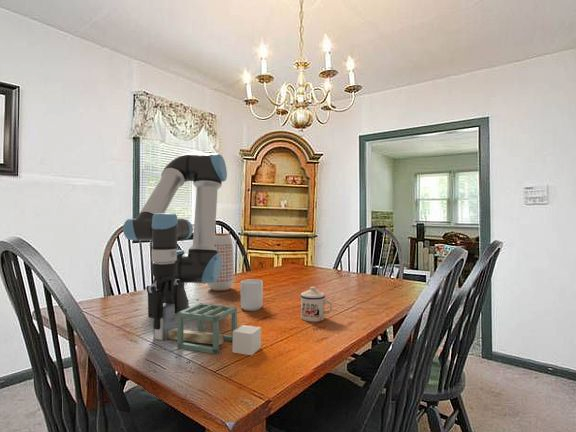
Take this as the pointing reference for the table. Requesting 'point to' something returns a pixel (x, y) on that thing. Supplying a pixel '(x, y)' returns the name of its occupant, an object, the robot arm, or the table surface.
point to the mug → (251, 294)
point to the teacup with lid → (313, 305)
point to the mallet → (191, 336)
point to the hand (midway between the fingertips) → (164, 336)
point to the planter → (224, 262)
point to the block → (246, 340)
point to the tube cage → (201, 317)
